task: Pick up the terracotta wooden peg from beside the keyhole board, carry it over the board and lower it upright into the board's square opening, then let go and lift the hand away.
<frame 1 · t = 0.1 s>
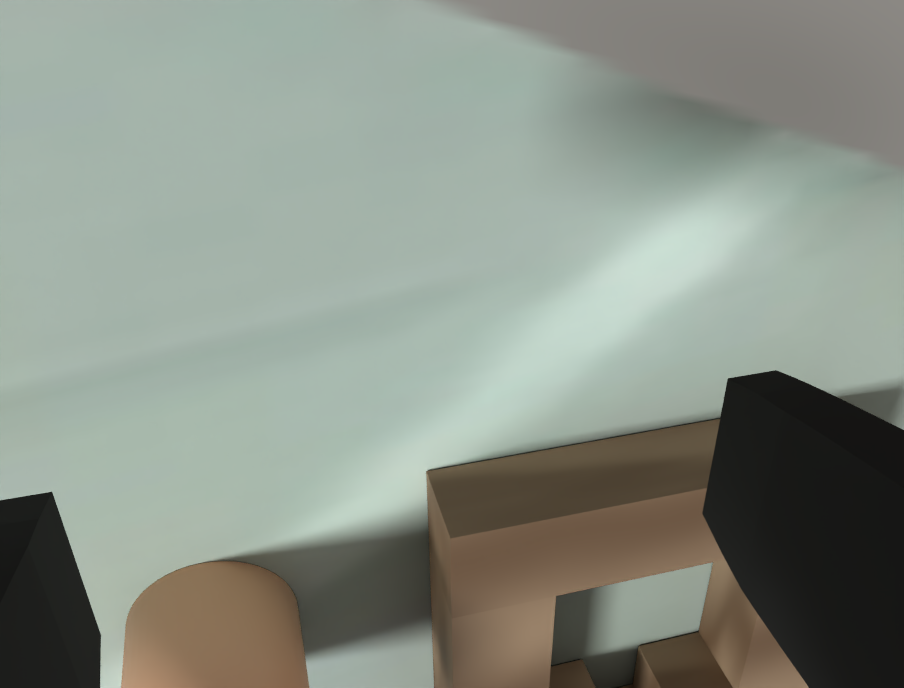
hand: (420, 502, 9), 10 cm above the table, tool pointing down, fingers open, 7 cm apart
keyhole board: (619, 585, 27), on the table
terracotta peg: (214, 622, 23), on the table
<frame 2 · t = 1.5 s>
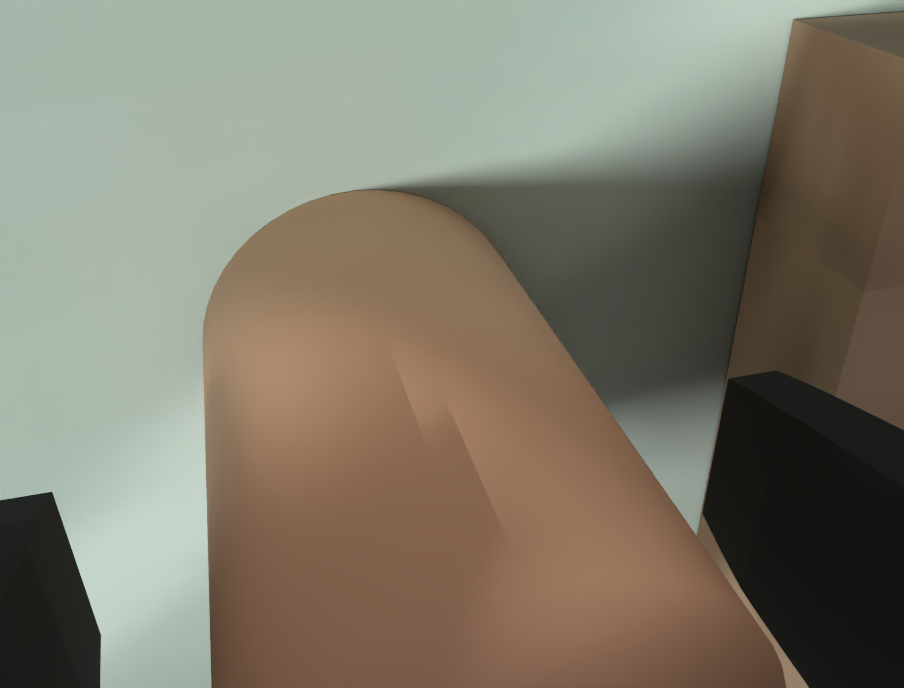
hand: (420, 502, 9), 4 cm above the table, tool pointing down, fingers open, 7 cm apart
terracotta peg: (366, 338, 12), on the table
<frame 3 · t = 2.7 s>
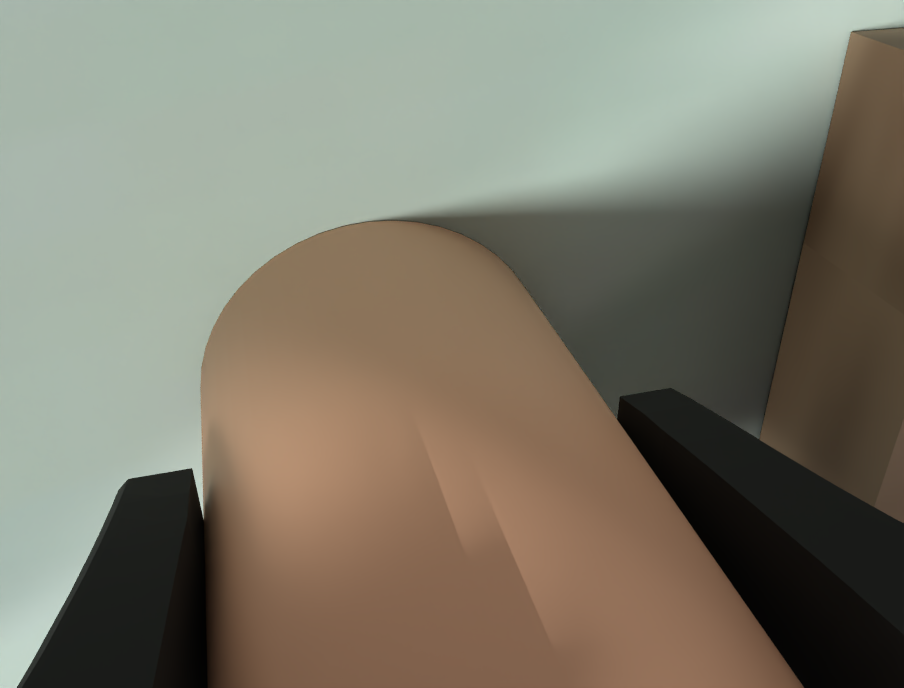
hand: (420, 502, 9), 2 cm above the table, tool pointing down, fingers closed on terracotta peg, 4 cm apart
terracotta peg: (379, 379, 11), on the table, touching gripper
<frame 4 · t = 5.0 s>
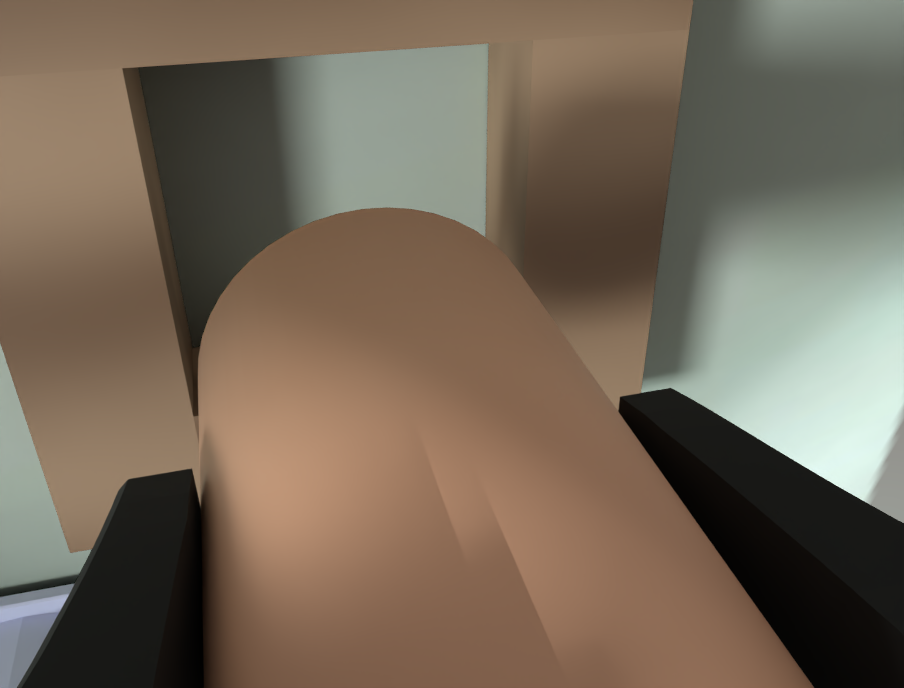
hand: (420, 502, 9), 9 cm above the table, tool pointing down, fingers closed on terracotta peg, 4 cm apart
keyhole board: (332, 189, 17), on the table
terracotta peg: (376, 368, 11), point 7 cm above the table, touching gripper
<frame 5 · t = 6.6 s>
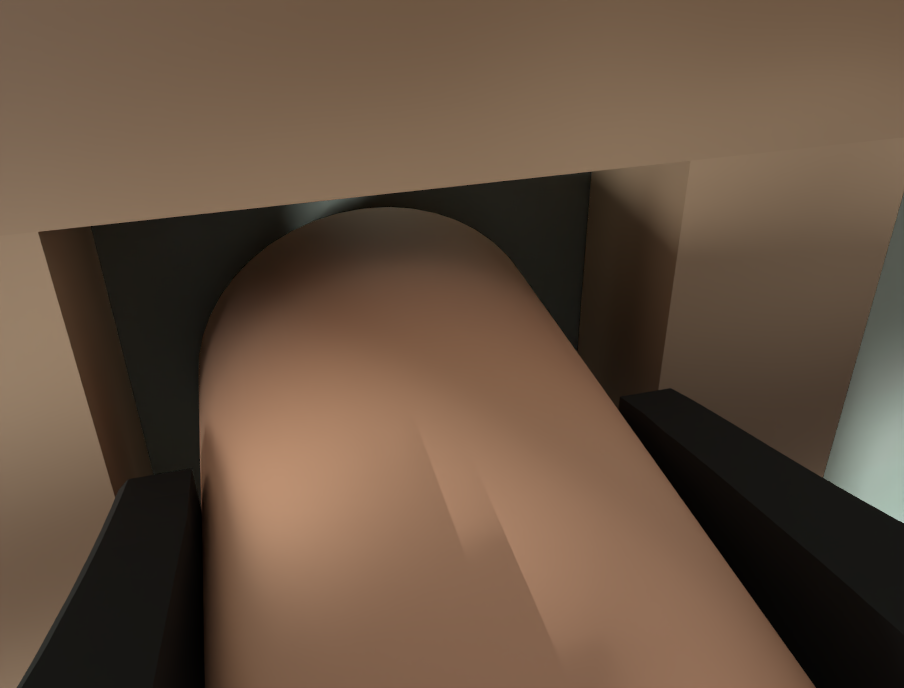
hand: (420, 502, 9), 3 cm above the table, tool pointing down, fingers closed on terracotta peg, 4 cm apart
keyhole board: (366, 341, 12), on the table
terracotta peg: (376, 367, 11), point 1 cm above the table, touching gripper
when the fingers open (3 cm above the table, at t = 7.7 s): terracotta peg stays where it is, resting in keyhole board.
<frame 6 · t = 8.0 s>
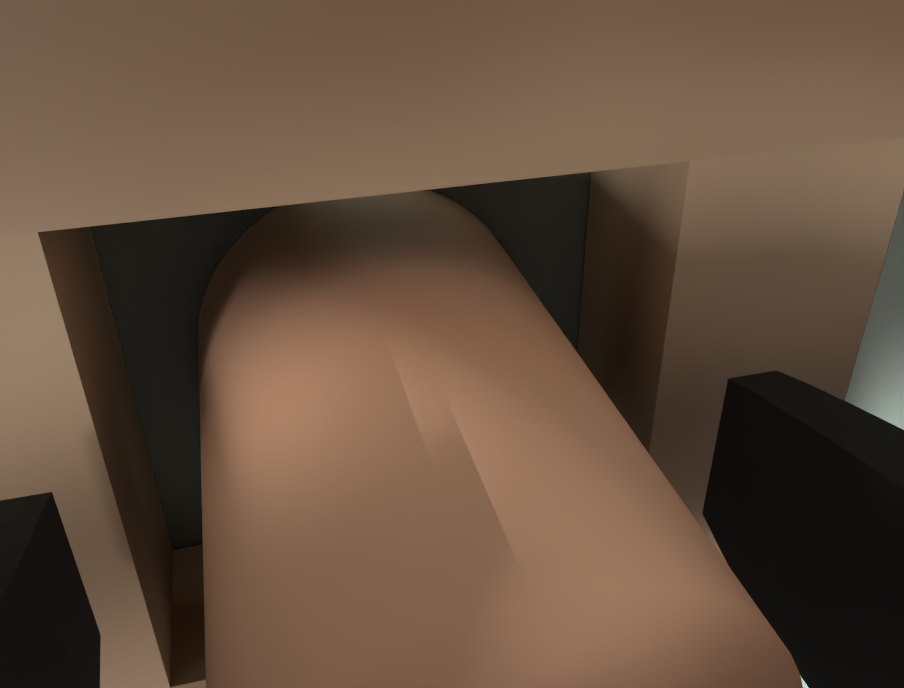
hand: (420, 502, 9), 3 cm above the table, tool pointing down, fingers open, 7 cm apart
keyhole board: (366, 341, 12), on the table
terracotta peg: (365, 333, 12), resting in keyhole board
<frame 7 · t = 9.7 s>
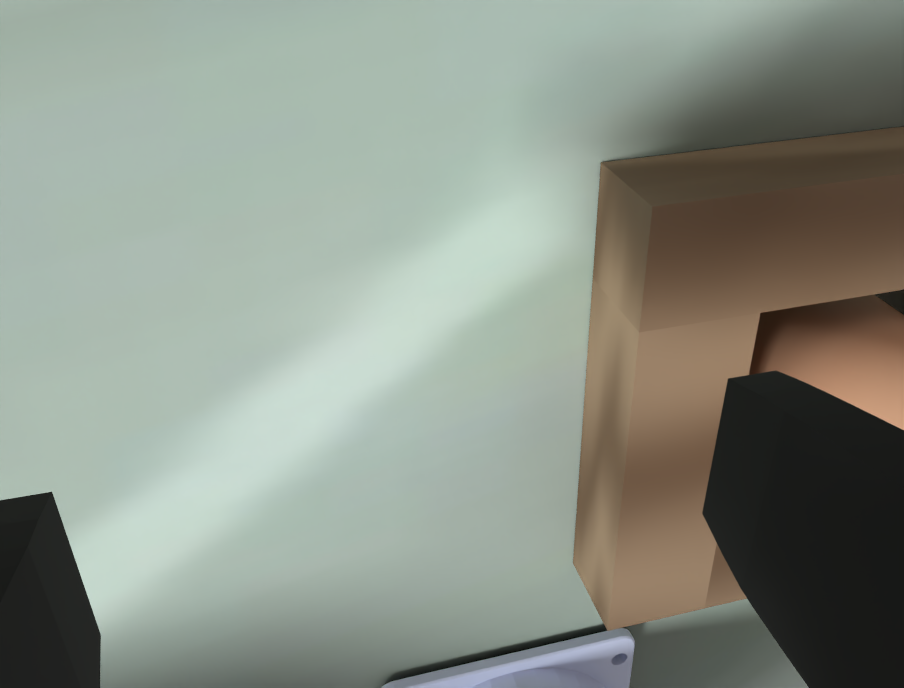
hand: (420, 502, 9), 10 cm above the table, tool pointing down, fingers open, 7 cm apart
keyhole board: (797, 354, 23), on the table
terracotta peg: (797, 350, 23), resting in keyhole board
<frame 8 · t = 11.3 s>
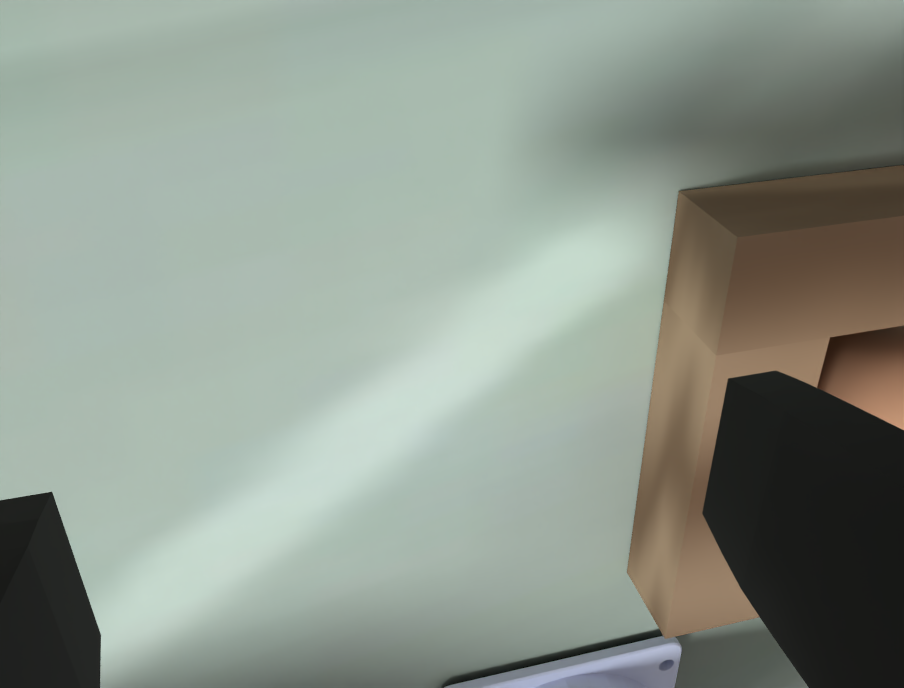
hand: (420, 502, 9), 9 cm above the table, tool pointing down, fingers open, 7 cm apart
keyhole board: (851, 373, 24), on the table
terracotta peg: (851, 370, 24), resting in keyhole board
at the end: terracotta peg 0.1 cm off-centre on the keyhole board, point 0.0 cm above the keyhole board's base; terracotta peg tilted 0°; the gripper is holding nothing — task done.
